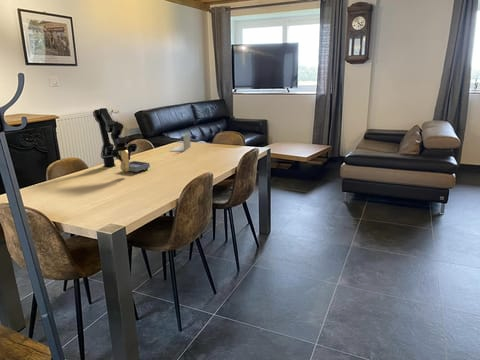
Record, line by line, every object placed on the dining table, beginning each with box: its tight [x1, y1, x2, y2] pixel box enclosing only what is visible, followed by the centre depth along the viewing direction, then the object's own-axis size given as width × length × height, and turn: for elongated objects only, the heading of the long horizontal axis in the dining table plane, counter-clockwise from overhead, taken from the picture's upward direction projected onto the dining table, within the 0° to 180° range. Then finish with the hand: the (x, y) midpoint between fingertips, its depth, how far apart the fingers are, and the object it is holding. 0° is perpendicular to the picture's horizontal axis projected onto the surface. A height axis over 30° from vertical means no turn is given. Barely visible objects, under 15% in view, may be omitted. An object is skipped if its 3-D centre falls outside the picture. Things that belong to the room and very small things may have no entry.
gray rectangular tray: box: [119, 160, 151, 174], centre depth 238 cm, size 14×12×4 cm
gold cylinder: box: [119, 150, 131, 172], centre depth 221 cm, size 5×5×12 cm
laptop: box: [169, 132, 191, 153], centre depth 301 cm, size 18×12×13 cm
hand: (125, 160), depth 220 cm, fingers closed on gold cylinder, 5 cm apart
